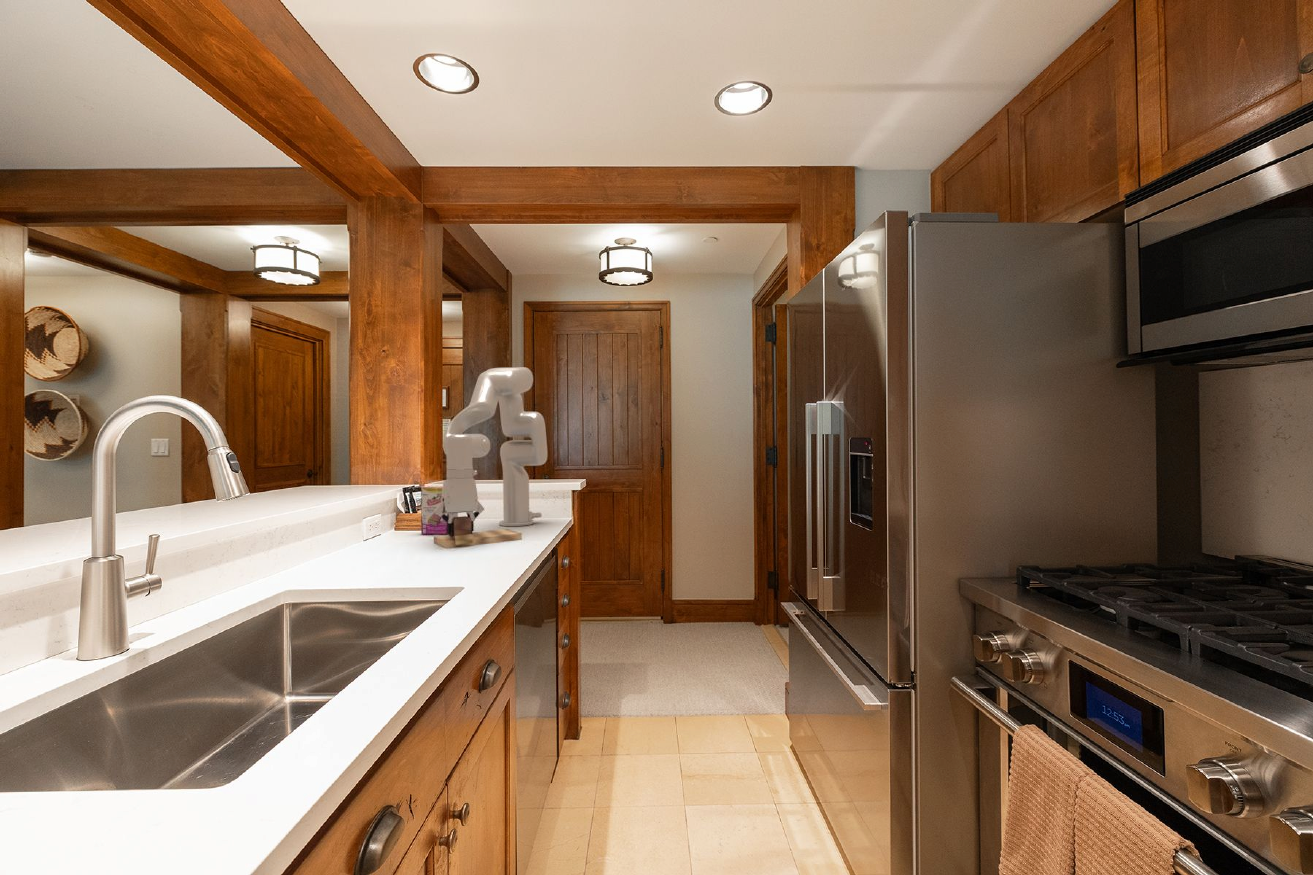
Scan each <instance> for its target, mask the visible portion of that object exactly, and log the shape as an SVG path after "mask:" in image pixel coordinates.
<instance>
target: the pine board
mask: <svg viewBox="0 0 1313 875" xmlns="http://www.w3.org/2000/svg"><path fill="white" fill-rule="evenodd" d="M522 534H523V533H522V532H520V531H519V532H518V531H515V530H512V529H510V528H509V529H508V528H505V529H504V528H503V529H492V530H485V531H484V530H483V531H475V532H474V531H472V535H473V543H468V544H459V545H455V539H453V538H450V536H449V535H433V543H434V544H435V545H438V546H440V547H442V548H445V549H450V548H458V547H460V548H461V547H468V546H477V545H485V544H494V543H503V542H513V541H520V540H522V539H523V537H522Z"/></svg>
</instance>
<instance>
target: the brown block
mask: <svg viewBox="0 0 1313 875" xmlns="http://www.w3.org/2000/svg"><path fill="white" fill-rule="evenodd" d="M452 521H453V524H454V536H452V537H451V536H450V538H453V539H455V545H459V544H468V543H473V535H472V534H471V518H470V517H467V515H466V516H465V515H464V516H458V517H453V520H452Z"/></svg>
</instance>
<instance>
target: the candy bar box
mask: <svg viewBox="0 0 1313 875" xmlns="http://www.w3.org/2000/svg"><path fill="white" fill-rule="evenodd" d="M420 488H421V489H420V491H421V492H420V500H421V501H420V502H421V503H420V504H421V505H420V511H421V512H420V514H421V520H420V522H421V523H420V524H421V528H420V531H421V532H420V533H421V535H422V536H423V535H425V536H428V535H430V536H443V535H448V534H447V522H445V521H444V520H443V519H442V518H441V517H440V516H438V515H437V514H435V511H436V510H437V509H438V507H439V506H440V505H441V498H442V488H443V485H423V486H421V487H420ZM442 513H443V514H445V515H446V516H447V512H443V511H442ZM458 514H459V513H454V516H453V517H459V515H458Z"/></svg>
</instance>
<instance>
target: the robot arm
mask: <svg viewBox="0 0 1313 875" xmlns="http://www.w3.org/2000/svg"><path fill="white" fill-rule="evenodd" d="M533 383H534V375H533V372H532V371H531V369H529V368H528V367H526V366H525V367H524V366H519V367H517V366H516V367H515V366H514V367H513V366H512V367H494V368H489V369H487V370H486V371H483V372H481V373H480V374H479V376H477V380H476V384H475V386H474V389H473V392H472V396H471V399H470V402H469V405H468V406H467V407H465V408H464V409H463V410H461V411H460V412H459V413H457V414H456V415H455V416H454V417H453V418H452V419H451V421H450V422H449V423H448V425H447V428H446V431H445V435H444V436H443V437H444V438H443V442H442V450H443V452H444V454H445V456H446V479H444V480H443V482H442V486H443V488H442V498H441V505H440V506H439V507H438V509H437V510H436V511H435V514H437V515H438V516H440V517H441V518H442V519H443V520H444V521H445V522H447V534H448V535H449V536H451V537H452V536H454V524H453V521H452V520H453V516H454V513H458V514H461V513H466V516H467V517H470V518H471V534H472V532H474V531H475V529H474V526H475V525H474V523H475V522H474V521H475V520H476V519H477V518H478V517H479V516H480V514H481V513H482V512H484V511H485V507H484V506H483V505H482V503H481V502H480V501H479V497H478V490H477V489H478V488H477V483H476V480H475V478H474V476H476V475H478V471H477V470H475V469H474V468H473V467H474V466H473V465H474V464H473V459H474V458H475V459H477V458H483V457H486V456H487V455H488V453H490V450H491V442H490V439H489V438H488V436H486V435H484V434H482V433H464V432H466V430H468V429H469V428H471V427H473V426H475V425H478V424H480V423H483V422H485V421H487V420H489V419H491V418H492V417H493V416H495V413H496V411H497V410H496V409H497V406H498V405H499V413H500V414H499V415H500V423H501V424H500V426H501V430H502V433H503V435H504V436H505V437H507V438H530V440H528V439H527V440H525V439H524V440H523V439H522V440H519V439H515V440H507V441H505V442H503V443H502V444H501V447H500V451H499V455H500V456H499V457H500V460H501V466H502V493H503V498H502V499H503V500H502V501H503V502H502V503H503V504H502V505H503V508H502V509H503V512H502V513H503V520H500V521H499V523H498V524H499V525H500V526H502V527H523V526H524V527H525V526H530V525H533V524H534V519H535V518H536V519H537V518H542V512H533V511H530V477H529V474H528V472H527V471H526V469H525V468H524V466H526V467H527V466H529V467H530V466H532V467H533V466H534V467H535V466H542V465H544V464H545V463H546V462H547V460H548V444H547V443H548V442H547V432H546V431H547V430H546V422H545V419H544V416H543V415H542V414H541V413H540V412H538V411H525V410H524V404H523V403H524V402H523V397H522V395H521V394H523V393H526V392H528V391H529V390H531V388H532V387H533ZM442 511H443V512H447V516H446V515H445V514H443V513H442Z"/></svg>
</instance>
